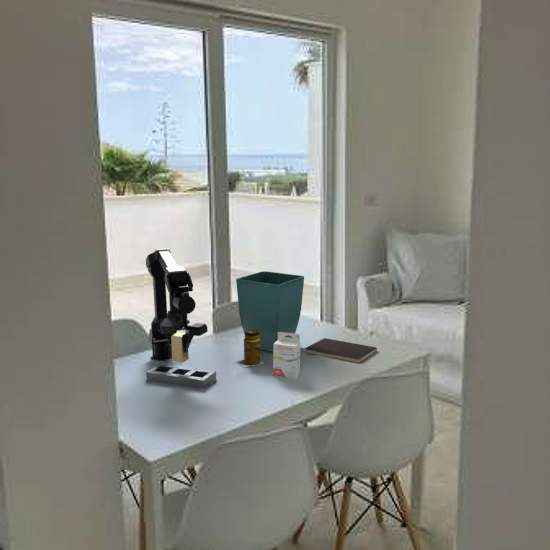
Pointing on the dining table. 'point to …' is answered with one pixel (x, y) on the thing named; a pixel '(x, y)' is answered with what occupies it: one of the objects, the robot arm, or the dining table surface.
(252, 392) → the dining table surface
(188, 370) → the gray socket block
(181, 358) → the brass peg
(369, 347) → the hardcover book
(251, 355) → the condiment
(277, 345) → the ink cartridge box
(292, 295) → the flower pot
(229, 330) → the dining table surface
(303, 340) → the dining table surface
